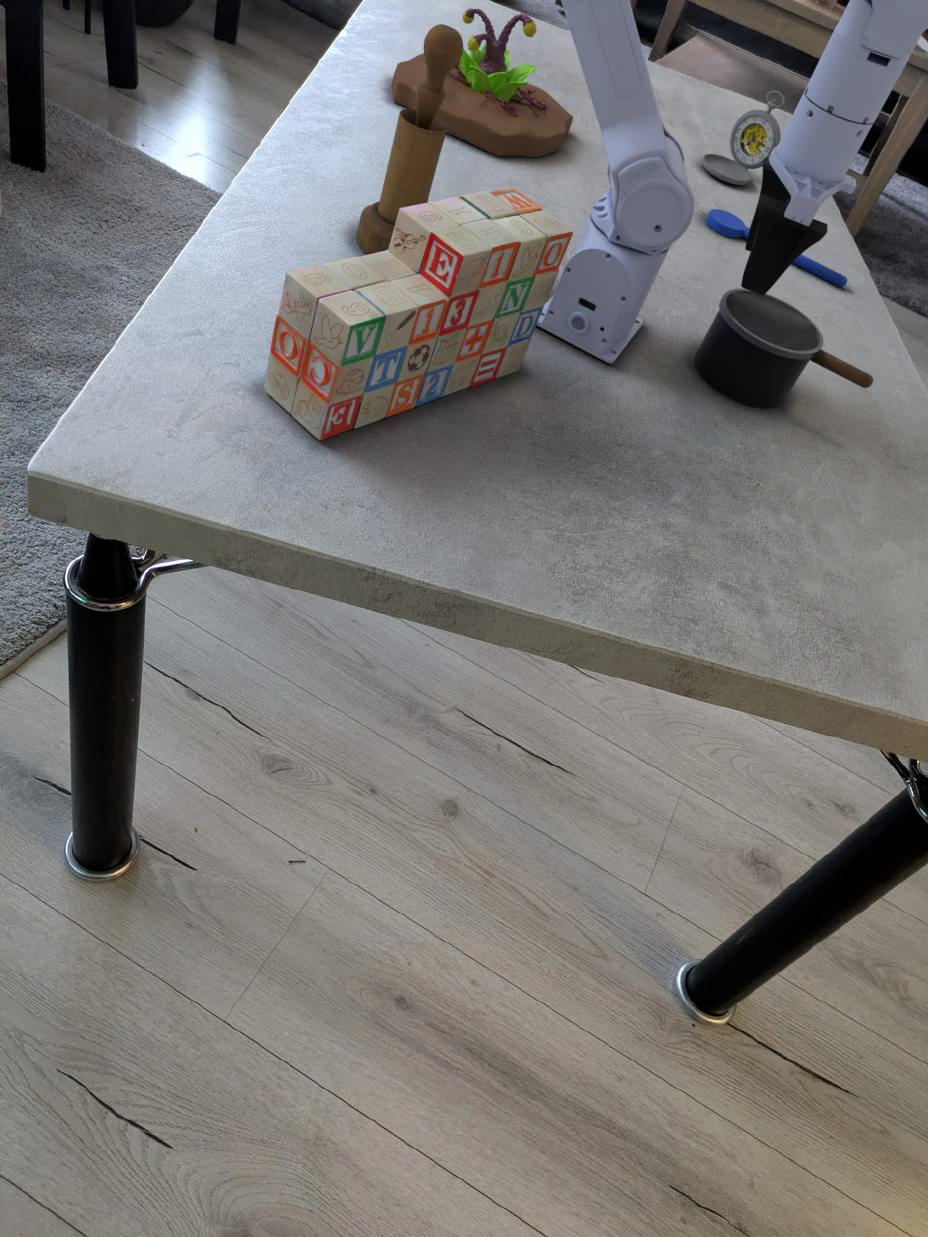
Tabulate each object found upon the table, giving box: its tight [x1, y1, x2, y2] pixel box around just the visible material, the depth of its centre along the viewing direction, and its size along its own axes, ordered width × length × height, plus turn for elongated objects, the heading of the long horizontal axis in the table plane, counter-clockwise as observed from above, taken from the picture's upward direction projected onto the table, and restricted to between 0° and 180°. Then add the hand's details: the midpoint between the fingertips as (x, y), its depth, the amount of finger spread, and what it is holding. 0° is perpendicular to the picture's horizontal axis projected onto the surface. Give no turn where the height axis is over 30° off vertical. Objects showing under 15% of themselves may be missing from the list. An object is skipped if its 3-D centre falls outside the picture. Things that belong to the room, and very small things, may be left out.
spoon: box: [705, 208, 848, 288], centre depth 111 cm, size 17×4×1 cm, turn 64°
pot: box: [693, 288, 874, 409], centre depth 87 cm, size 10×15×6 cm, turn 64°
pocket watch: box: [701, 90, 786, 186], centre depth 121 cm, size 8×8×10 cm
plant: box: [390, 8, 574, 158], centre depth 110 cm, size 20×20×11 cm
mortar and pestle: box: [355, 23, 464, 255], centre depth 80 cm, size 7×6×18 cm
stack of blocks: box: [263, 187, 574, 441], centre depth 69 cm, size 21×6×12 cm, turn 136°
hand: (754, 270), depth 84 cm, fingers open, 7 cm apart
